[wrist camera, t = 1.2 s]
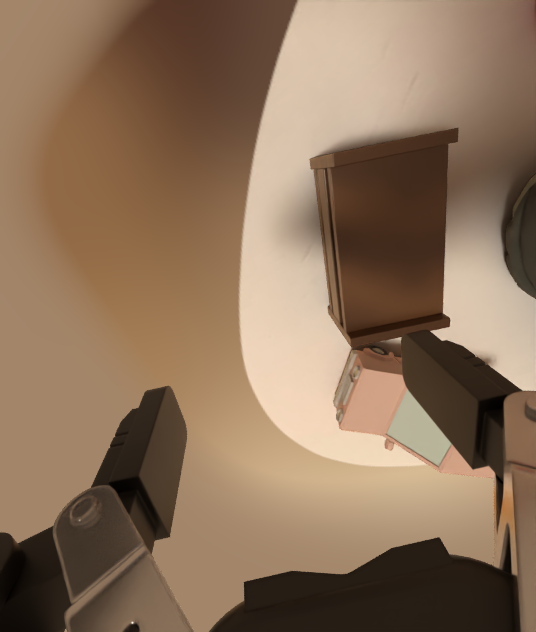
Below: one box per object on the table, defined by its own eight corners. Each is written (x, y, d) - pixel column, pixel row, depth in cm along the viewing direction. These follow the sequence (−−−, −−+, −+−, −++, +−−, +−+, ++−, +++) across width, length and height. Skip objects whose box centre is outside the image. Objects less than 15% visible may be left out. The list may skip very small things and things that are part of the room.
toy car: (348, 331, 33) (391, 390, 24) (477, 354, 36) (560, 416, 27) (321, 405, 37) (350, 481, 27) (441, 421, 39) (504, 496, 30)
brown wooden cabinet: (309, 158, 27) (332, 153, 20) (405, 139, 27) (458, 127, 20) (328, 313, 32) (351, 347, 26) (407, 297, 32) (449, 326, 26)
